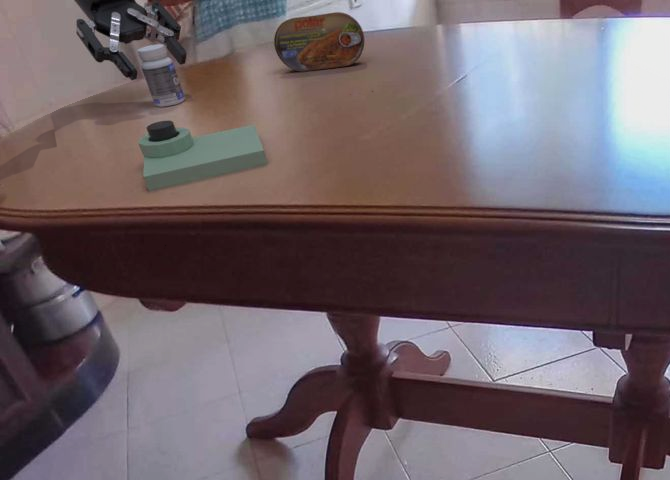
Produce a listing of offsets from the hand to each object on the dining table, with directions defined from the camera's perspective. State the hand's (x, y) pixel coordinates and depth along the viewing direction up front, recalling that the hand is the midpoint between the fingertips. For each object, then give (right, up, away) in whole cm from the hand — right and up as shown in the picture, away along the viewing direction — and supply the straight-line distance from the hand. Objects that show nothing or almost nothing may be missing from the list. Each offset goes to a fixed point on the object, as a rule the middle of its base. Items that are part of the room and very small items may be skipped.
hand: (159, 68), depth 109 cm
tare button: (+11, -17, -22) cm, 30 cm away
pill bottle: (0, -4, +4) cm, 6 cm away
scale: (+16, -20, -21) cm, 33 cm away
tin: (+23, +5, +12) cm, 27 cm away
